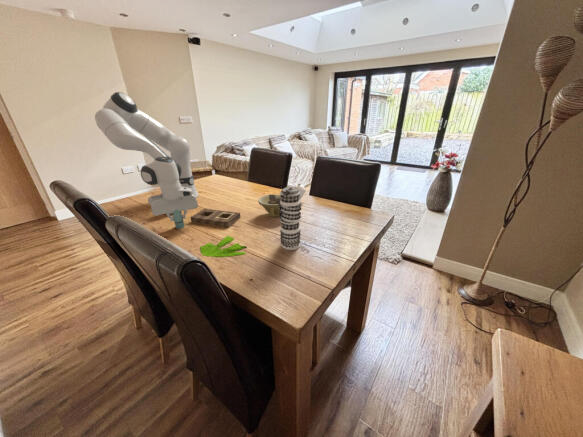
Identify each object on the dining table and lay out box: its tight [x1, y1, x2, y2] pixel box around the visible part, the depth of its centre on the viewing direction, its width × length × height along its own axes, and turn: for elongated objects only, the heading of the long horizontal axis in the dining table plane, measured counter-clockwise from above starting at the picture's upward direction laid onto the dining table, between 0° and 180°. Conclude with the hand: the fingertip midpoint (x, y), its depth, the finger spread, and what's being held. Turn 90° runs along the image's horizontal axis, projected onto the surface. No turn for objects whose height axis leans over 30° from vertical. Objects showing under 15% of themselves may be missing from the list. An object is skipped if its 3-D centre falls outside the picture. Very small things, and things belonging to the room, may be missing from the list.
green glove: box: [199, 235, 248, 258], centre depth 99 cm, size 20×22×2 cm
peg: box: [171, 210, 185, 230], centre depth 115 cm, size 4×4×10 cm
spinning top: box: [293, 182, 306, 200], centre depth 146 cm, size 8×8×12 cm
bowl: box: [257, 194, 281, 219], centre depth 127 cm, size 18×18×10 cm
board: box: [190, 208, 242, 228], centre depth 123 cm, size 22×12×3 cm, turn 73°
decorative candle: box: [279, 186, 302, 251], centre depth 95 cm, size 9×9×25 cm
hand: (178, 219), depth 115 cm, fingers closed on peg, 4 cm apart
